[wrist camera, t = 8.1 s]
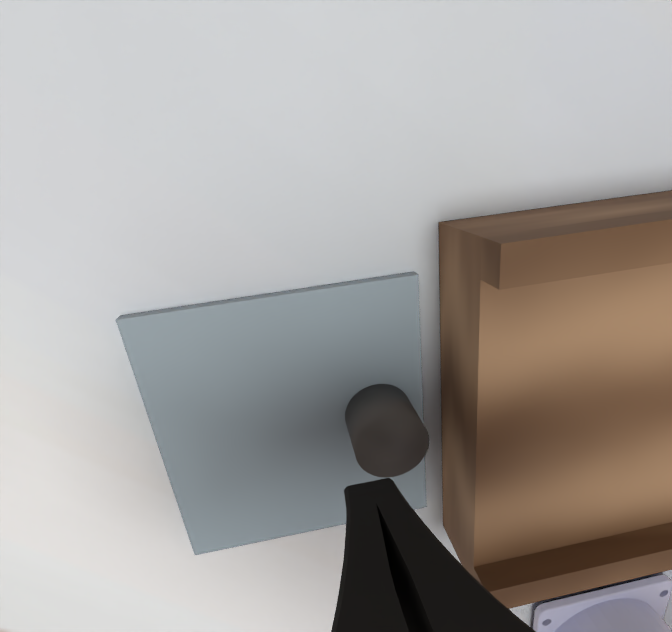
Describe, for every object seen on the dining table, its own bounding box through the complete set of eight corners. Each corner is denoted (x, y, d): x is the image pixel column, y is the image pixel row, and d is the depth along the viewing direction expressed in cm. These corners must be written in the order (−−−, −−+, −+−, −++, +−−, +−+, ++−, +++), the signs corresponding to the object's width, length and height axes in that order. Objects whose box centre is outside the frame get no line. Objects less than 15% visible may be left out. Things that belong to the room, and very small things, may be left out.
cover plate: (418, 489, 19) (444, 546, 16) (199, 534, 18) (185, 604, 15) (408, 267, 15) (440, 291, 12) (126, 309, 14) (89, 346, 11)
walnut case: (745, 460, 20) (851, 526, 17) (443, 525, 19) (485, 614, 15) (844, 166, 15) (1028, 167, 11) (438, 222, 14) (501, 243, 10)
